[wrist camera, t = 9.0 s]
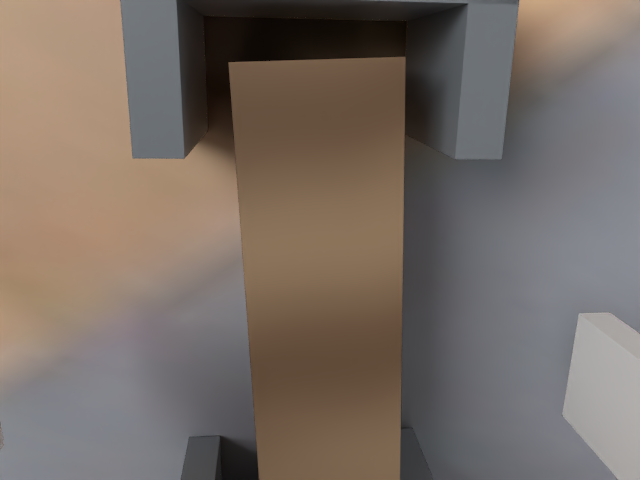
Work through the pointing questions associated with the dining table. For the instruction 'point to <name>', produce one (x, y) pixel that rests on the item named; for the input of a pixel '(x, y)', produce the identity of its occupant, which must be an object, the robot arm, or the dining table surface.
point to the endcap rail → (420, 98)
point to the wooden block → (323, 261)
